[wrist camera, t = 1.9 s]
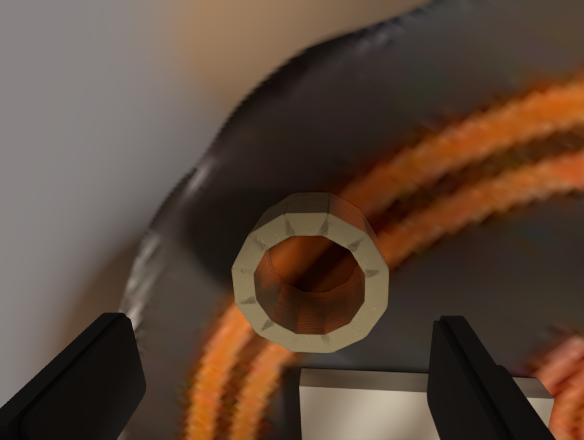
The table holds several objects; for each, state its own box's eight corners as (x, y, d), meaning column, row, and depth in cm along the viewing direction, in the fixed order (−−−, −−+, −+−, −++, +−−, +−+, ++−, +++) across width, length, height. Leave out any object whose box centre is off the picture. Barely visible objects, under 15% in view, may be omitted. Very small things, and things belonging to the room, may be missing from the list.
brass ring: (378, 190, 17) (391, 211, 14) (374, 308, 19) (385, 355, 16) (247, 193, 18) (225, 214, 14) (257, 305, 20) (240, 349, 16)
